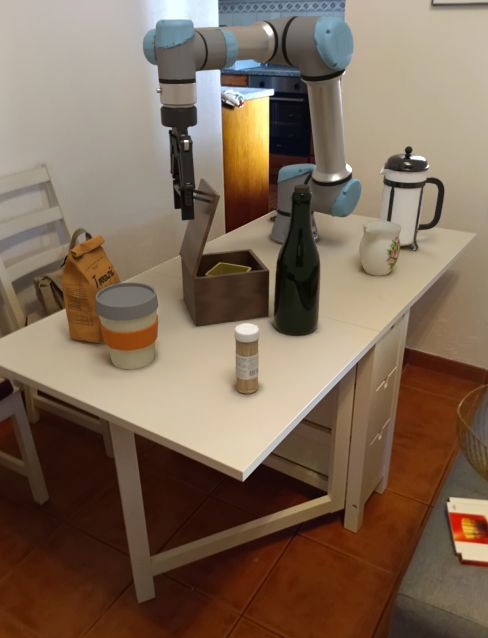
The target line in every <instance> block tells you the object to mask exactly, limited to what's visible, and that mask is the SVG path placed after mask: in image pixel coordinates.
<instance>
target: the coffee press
mask: <svg viewBox="0 0 488 638" xmlns="http://www.w3.org/2000/svg"><path fill="white" fill-rule="evenodd" d="M413 151H414V150H413V147H412V146H410V145H408V146H406V147H405V149H404V152H405V153H396V154H393V155H391V156H389V157H388V158H387V160H386V162H385V163H384V165H383V167H382V168H381V169H380V171H379V173H378V174H379V175H383V179H382V183H383V187H382V195H381V205H380V211H379V213H380V214H379V220H378V221H389V222H393V223H396V224H398V225H400V226H401V232H400V234H399V240H400V247H403V246H404V247H405V246H409V247H410V249H411V250H412V251H416V250H418V249H419V244H418V243H417V238H418V233H419V231H427V230H431V229H433V228H435V227H436V226H437V225H438V224H439V222H440V220H441V217H442V211H443V205H444V199H445V191H446V190H445V185H444V183H443V182H442V180H440V179H439V178H437V177H434V176H430V177H427V173H428V171H429V168H430V165H429V164H428V160H427V159H426V157H424V156H422V155H420V154H414V153H412V152H413ZM427 184H431V185H435V186H436V187H437V198H436V204H435V208H434V215H433V219H432V220H431V221H430V222H428V223H420V219H421V215H422V206H423V201H424V193H425V187H426V186H427Z"/></svg>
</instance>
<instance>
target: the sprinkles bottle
mask: <svg viewBox="0 0 488 638" xmlns="http://www.w3.org/2000/svg"><path fill="white" fill-rule="evenodd" d="M259 338H260V328H259V326H258V325H256V324H254V323H251V322H250V323H249V322H247V323H245V322H244V323H240V324H238V325H236V326H235V327H234V339H235V389H236V391H237V392H239V393H241V394H246V395H248V394H254V393H255V392H257V391H258V390H259V365H260V363H259V359H260V358H259V356H260V355H259V352H260V351H259Z"/></svg>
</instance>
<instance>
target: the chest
mask: <svg viewBox="0 0 488 638" xmlns="http://www.w3.org/2000/svg"><path fill="white" fill-rule="evenodd" d="M180 263H181V265H180V266H181V278H182V279H181V281H182V292H183V293H182V296H183V297H182V298H183V299H182V300H183V302H184V304H185V306H186V308H187V311H188V313H189V314H190V317H191V319H192V321H193V323H194V325H195V327H201V326H209V325H217V324H223V323H231V322H239V321H245V320H252V319H253V320H254V319H261V318H267V317H269V316H270V315H269V313H270V312H269V311H270V271H271V270H270V269H269V268H268V267H267V266H266V265H265V263H264V262H263V261H262V260H261V259H260V258H259V257H258V255H257V254H256V253H255V252H254V250H253V249H251V248H247V249H238V250H236V249H235V250H227V251H226V250H225V251H217V252H208V253H203V254H202V258H201V261H200V264H199V268H198V271H197V274H196V277H192V276H191V274H190V273H189V271H188V269H187V267H186V265H185V263H184V262H183V260H182V258H181V257H180ZM218 263H227V264H234V265H240V266H246V267H250V268H251V271H247V272H239V273H230V274H221V275H213V276H205V274H206V273H207V272H208V271H210V270H211V269H212V268H213V267H214V266H216V265H217V264H218Z"/></svg>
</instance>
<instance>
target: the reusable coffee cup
mask: <svg viewBox="0 0 488 638" xmlns="http://www.w3.org/2000/svg"><path fill="white" fill-rule="evenodd" d="M159 305H160V304H159V299H158V295H157V291H156V289H155V288H154V287H153V286H152V285H150V284H146V283H142V282H134V281H133V282H129V281H128V282H120V283H118V284H114V285H110V286H107V287H105V288H103V289H101V290H100V291H99V292H98V293H97V294H96V312H97V313H98V314H99V317H100V320H99V325H100V328H101V332H102V335H103V342H104V344H105V345H106V346H107V349H108V353H109V356H110V360H111V362H112V364H113V365H114V366H115V367H117V368H119V369H123V370H138V369H142V368H145V367H147V366H148V365H150V364H152V363H153V361H154V360H155V351H156V341H157V339H158V333H159V332H158V331H159V315H158V308H159V307H160V306H159Z"/></svg>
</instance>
